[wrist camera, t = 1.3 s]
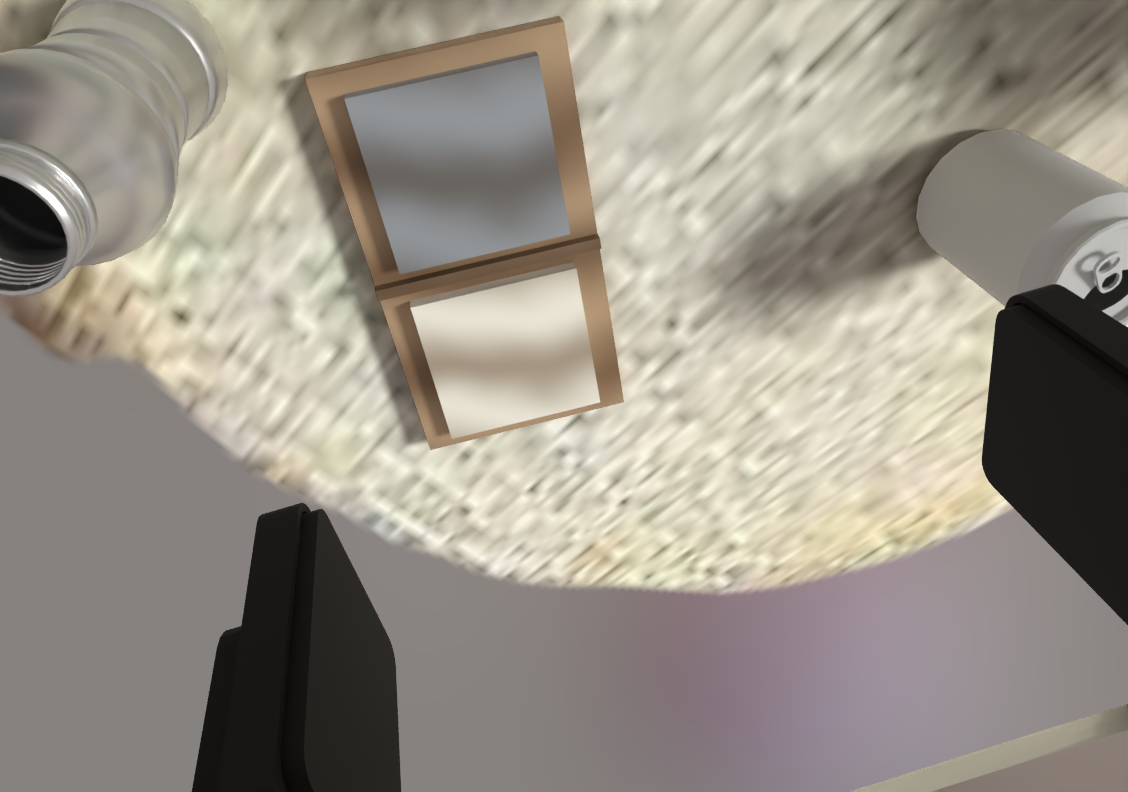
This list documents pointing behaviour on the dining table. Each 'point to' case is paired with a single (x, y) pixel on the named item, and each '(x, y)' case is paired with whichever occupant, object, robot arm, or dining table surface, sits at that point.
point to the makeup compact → (477, 226)
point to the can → (1028, 220)
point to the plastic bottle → (99, 132)
